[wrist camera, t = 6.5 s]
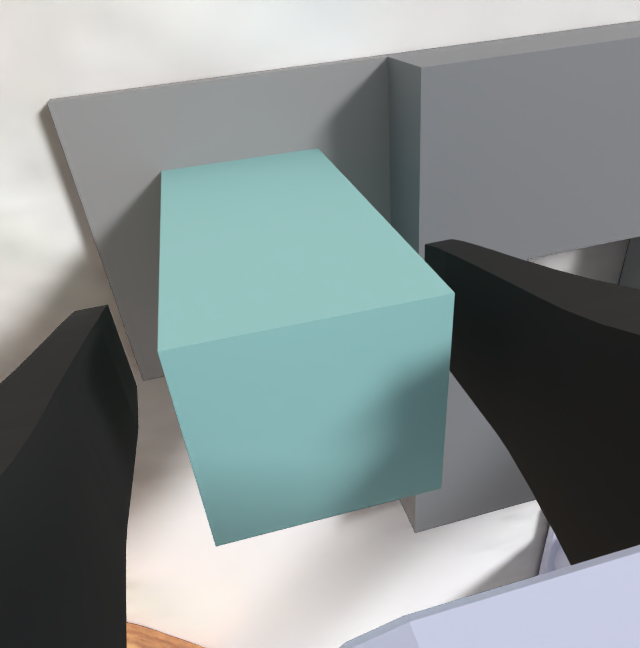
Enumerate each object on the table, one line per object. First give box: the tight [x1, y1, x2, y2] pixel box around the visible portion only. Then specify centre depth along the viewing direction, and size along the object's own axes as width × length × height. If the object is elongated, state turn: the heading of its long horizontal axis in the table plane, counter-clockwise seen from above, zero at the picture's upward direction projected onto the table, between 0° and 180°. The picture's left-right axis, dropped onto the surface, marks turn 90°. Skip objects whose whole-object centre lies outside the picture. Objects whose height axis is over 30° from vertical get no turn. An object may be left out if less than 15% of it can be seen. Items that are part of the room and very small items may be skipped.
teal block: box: [158, 148, 455, 546], centre depth 11 cm, size 4×4×8 cm
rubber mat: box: [47, 55, 391, 381], centre depth 15 cm, size 8×8×1 cm
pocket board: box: [384, 21, 640, 533], centre depth 18 cm, size 16×12×2 cm
